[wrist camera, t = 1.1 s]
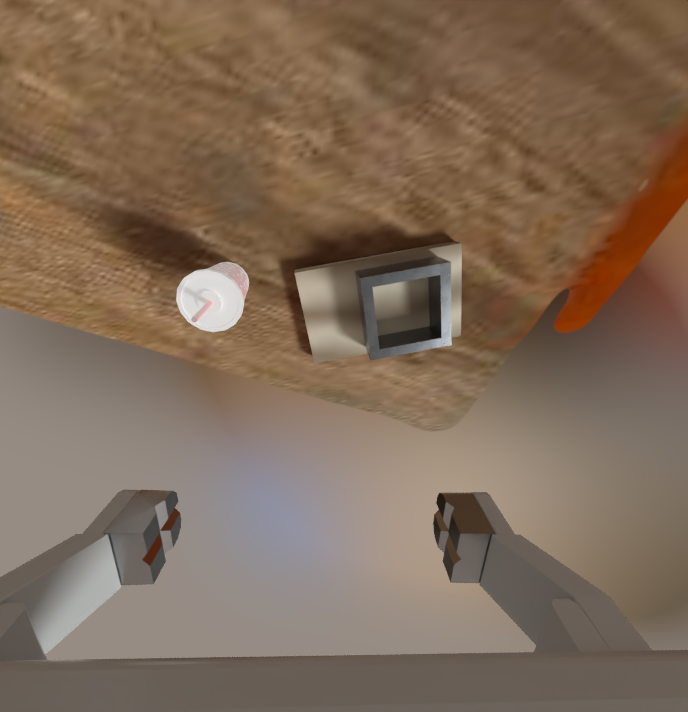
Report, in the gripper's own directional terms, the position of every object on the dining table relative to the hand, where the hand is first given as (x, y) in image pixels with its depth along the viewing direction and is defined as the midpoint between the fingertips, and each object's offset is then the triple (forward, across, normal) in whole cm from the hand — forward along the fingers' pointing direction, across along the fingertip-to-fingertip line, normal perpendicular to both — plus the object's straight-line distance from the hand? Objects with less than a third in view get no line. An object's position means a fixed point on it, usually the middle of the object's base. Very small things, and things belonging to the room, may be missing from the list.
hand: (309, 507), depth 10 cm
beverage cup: (+32, +12, -3) cm, 35 cm away
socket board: (+34, -7, -1) cm, 35 cm away
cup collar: (+32, -9, -1) cm, 33 cm away
